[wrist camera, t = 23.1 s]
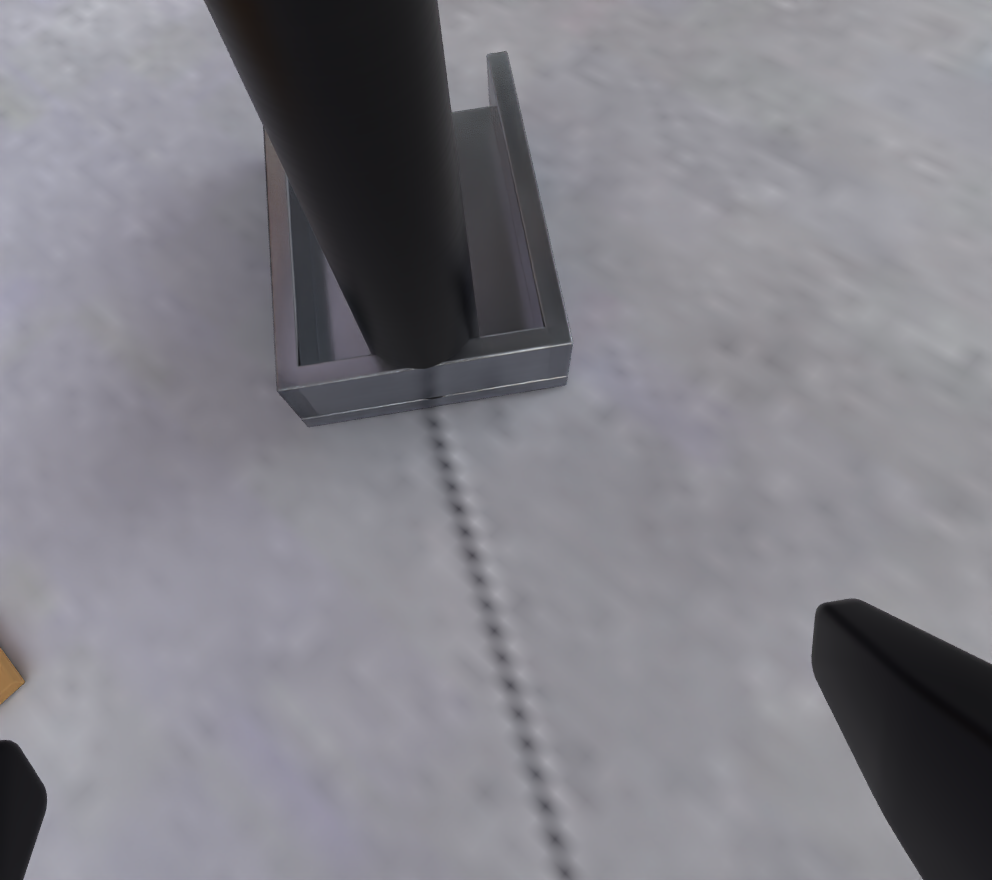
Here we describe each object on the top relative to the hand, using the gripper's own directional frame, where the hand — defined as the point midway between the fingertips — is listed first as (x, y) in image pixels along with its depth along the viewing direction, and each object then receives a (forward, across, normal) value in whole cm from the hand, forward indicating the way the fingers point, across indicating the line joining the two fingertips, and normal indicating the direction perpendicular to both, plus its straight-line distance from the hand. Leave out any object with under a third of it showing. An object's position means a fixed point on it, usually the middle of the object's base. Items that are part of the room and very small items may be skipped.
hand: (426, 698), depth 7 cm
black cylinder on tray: (+14, 0, -3) cm, 14 cm away
